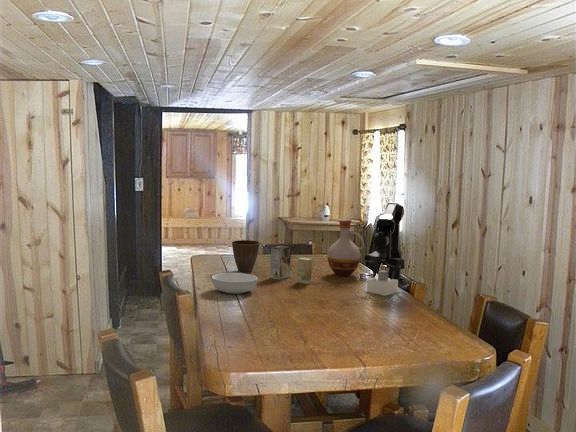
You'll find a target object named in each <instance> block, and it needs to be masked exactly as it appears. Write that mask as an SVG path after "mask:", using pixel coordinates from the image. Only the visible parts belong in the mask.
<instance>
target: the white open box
mask: <svg viewBox="0 0 576 432" xmlns="http://www.w3.org/2000/svg"><path fill="white" fill-rule="evenodd" d="M377 272H378V273H377V276H374V277H371V278H366V279H367V281H366V283H367V284H366V291H367V292H371V293H375V294H374V295H376V294H380V295H384V296H386V295H390V294H394V293H398V292H399V289H398V288H399V280H395V279H392V280H390V278H388V277H389V270H383V269H382V270H379V271H378V270H377ZM367 292H366V293H367ZM371 293H370V294H371ZM398 294H399V293H398ZM380 295H379V296H380ZM394 295H395V294H394ZM384 296H383V297H384Z"/></svg>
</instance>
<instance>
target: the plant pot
mask: <svg viewBox="0 0 576 432" xmlns="http://www.w3.org/2000/svg"><path fill="white" fill-rule="evenodd" d="M231 245H232V246H231V247H232V253H233V258H234V262H235V266H236V269H237V272H238V273H245V274H249V273H251V272H253V270H254V267H255V264H256V262H257V257H258V254H259V250H260V242H259V241H257V240H247V239H246V240H245V239H240V240H239V239H237V240H233V241H231Z"/></svg>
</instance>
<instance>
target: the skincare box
mask: <svg viewBox="0 0 576 432" xmlns="http://www.w3.org/2000/svg"><path fill="white" fill-rule="evenodd" d="M312 271H313V258H309V257H300V258H297V273H296V283H298V284H305V285H309V284H312Z"/></svg>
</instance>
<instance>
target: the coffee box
mask: <svg viewBox="0 0 576 432" xmlns="http://www.w3.org/2000/svg"><path fill="white" fill-rule="evenodd" d="M291 251H292V250H291V246H288V245H287V246H286V245H278V246H272V247H270V272H269V273H270V277H269V278H271V279H274V280H279V281H280V280H284V279H287V278H290V277H291V256H292V255H291Z"/></svg>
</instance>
